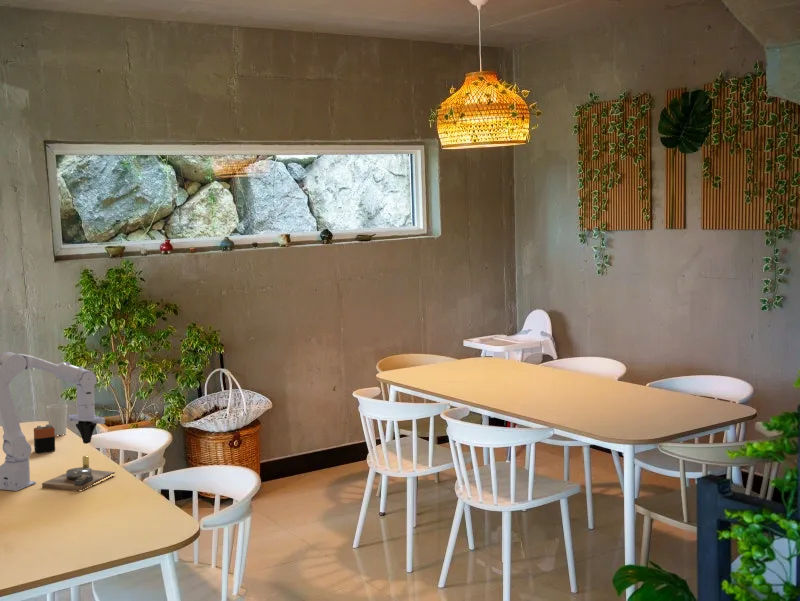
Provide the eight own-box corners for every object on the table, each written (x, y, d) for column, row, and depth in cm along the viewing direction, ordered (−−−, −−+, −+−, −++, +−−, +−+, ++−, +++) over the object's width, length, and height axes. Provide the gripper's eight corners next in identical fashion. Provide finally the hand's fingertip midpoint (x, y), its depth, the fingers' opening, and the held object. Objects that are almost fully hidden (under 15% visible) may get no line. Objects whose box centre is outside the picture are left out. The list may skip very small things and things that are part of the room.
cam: (87, 479, 283) (86, 464, 283) (62, 479, 283) (62, 465, 283) (98, 470, 295) (98, 455, 294) (75, 470, 294) (74, 456, 294)
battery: (55, 451, 327) (54, 425, 327) (36, 453, 324) (35, 427, 323) (53, 448, 331) (52, 423, 330) (34, 451, 327) (33, 425, 326)
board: (81, 491, 276) (80, 478, 276) (42, 487, 281) (41, 474, 280) (115, 476, 294) (114, 464, 293) (77, 472, 298) (77, 460, 298)
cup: (61, 437, 349) (60, 408, 348) (43, 436, 351) (42, 407, 350) (72, 432, 357) (71, 404, 356) (55, 432, 359) (54, 403, 358)
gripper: (110, 403, 298) (111, 442, 299) (77, 400, 303) (78, 438, 304) (96, 407, 291) (97, 446, 292) (62, 404, 296) (64, 442, 297)
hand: (86, 442), depth 298 cm, fingers closed
